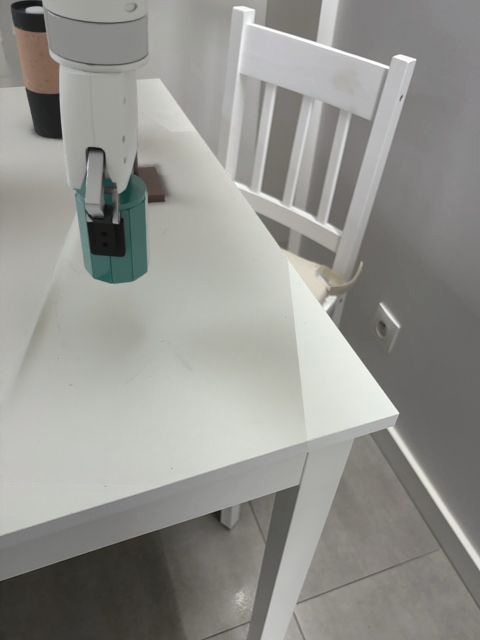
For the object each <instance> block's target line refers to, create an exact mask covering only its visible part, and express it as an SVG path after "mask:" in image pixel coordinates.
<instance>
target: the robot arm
mask: <svg viewBox="0 0 480 640" xmlns="http://www.w3.org/2000/svg"><path fill="white" fill-rule="evenodd" d="M42 3H43V12H44V19H45V26H46V33H47V40H48V46H49V53H50V56H51V58H52V59H53V60H55V61H56V62H58V63H59V64H60V67H59V91H60V112H61V125H62V136H63V138H62V145H63V155H64V165H65V175H66V183H67V185H68V187H69V188H70V189H71V190H73V191H76V189H81V186H82V184H83V181H84V179H85V176H86V192H85V209H86V220H87V227H88V235H89V243H90V251H91V253H92V254H93V255H101V256H113V257H124V256H125V253H126V244H125V229H124V218H120V193H121V192H123V191H124V190H125V189H126V187H127V185H128V181H129V178H130V175H131V173H132V174H133V164H134V160H135V156H136V152H137V153H138V143H139V107H138V85H137V83H138V82H137V70H138V69H141V68H142V67H143V66H146V65H147V64H148V63H149V60H150V50H149V49H150V46H149V45H150V44H149V12H148V11H149V10H148V9H149V7H148V5H149V4H148V0H42ZM105 179H111V180H112V182H114V186H106V185H104V183H105ZM104 194H112V208H111V207H110V205H109V204H105V201H104Z"/></svg>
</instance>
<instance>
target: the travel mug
mask: <svg viewBox="0 0 480 640" xmlns="http://www.w3.org/2000/svg"><path fill="white" fill-rule="evenodd" d="M10 13H11V18H12V25H13V29H14V35H15V40H16V45H17V50H18V56H19V57H18V58H19V63H20V68H21V72H22V73H21V74H22V78H23V85H24V90H25V93H26V97H27V102H28V106H29V111H30V115H31V120H32V124H33V127H34V132H35V134H37V135H38V136H39V137H41V138H46V139H52V140H58V139H63V136H62V125H61V112H60V91H59V67H60V64H59V63H58V62H56V61H55V60H53V59H52V58H51V56H50V53H49V46H48V40H47V33H46V26H45V19H44V12H43V3H42V0H18V1H14V2H13V3H11V4H10Z"/></svg>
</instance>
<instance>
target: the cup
mask: <svg viewBox="0 0 480 640" xmlns="http://www.w3.org/2000/svg"><path fill="white" fill-rule="evenodd" d="M104 185H106V186H114V182H112V180H111V179H105V183H104ZM85 192H86V176H85V179H84V181H83V184H82V186H81V189H76V190H75V192H74V201H75V206H76V208H75V209H76V215H77V220H78V229H79V230H78V231H79V236H80V244H81V251H82V258H83V259H82V260H83V264H84V265H83V266H84V269H85V270H86V271H87V273H88V274H89V275H90V276H91V277H92V278H93V280H97V281H100V282H104V283H107V284H111V285H118V284H126V283H132V282H135V281H137V280H138V279H140V278H141V277H143V276H144V275H146V274H147V273H148V271H149V265H150V260H151V259H150V234H149V233H150V231H149V229H150V228H149V202H148V194H147V189H146V185H145V183H144V181H143V180H142V179H141V178H139V177H138V176H136V175H134V174H132V173H131V175H130V178H129V181H128V185H127V187H126V189H125V190H124V191H123V192H121V193H120V218H124V229H125V244H126V253H125V256H124V257H113V256H101V255H93V254H92V253H91V251H90V243H89V235H88V227H87V220H86V209H85ZM104 201H105V204H109V205H110V207H111V208H112V194H104Z"/></svg>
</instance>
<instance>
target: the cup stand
mask: <svg viewBox="0 0 480 640" xmlns="http://www.w3.org/2000/svg"><path fill="white" fill-rule="evenodd" d="M133 174H134V175H136V176H138V177H139V178H141V179H142V180H143V181H144V183H145V185H146V189H147V194H148V203H161V202H165V201H166V195H165V192H164V189H163V185H162V182H161V179H160V176H159V173H158V171H157V168H156V166H142V167H139V159H138V151H137V152H136V156H135V160H134V164H133Z"/></svg>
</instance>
